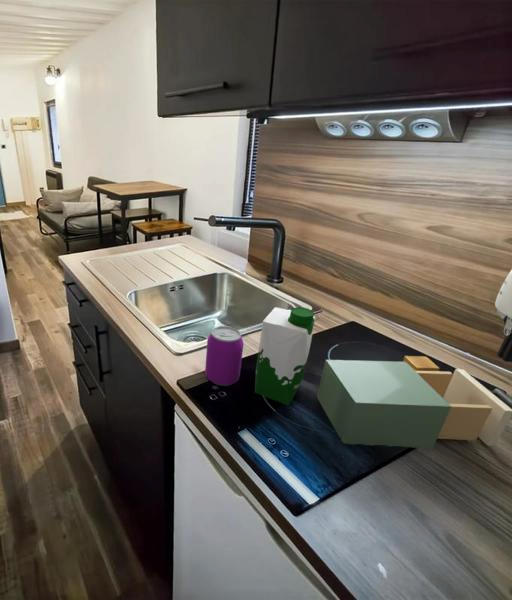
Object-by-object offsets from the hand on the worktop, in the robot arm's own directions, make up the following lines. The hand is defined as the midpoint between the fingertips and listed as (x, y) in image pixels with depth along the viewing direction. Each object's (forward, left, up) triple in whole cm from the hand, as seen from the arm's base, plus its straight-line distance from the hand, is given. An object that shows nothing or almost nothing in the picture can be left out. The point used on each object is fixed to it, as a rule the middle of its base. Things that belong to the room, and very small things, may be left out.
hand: (510, 358), depth 61 cm
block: (+3, -14, -15) cm, 21 cm away
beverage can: (+45, -12, -15) cm, 49 cm away
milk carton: (+34, -8, -15) cm, 38 cm away
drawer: (+6, 0, -14) cm, 15 cm away
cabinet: (+19, 0, -15) cm, 24 cm away
